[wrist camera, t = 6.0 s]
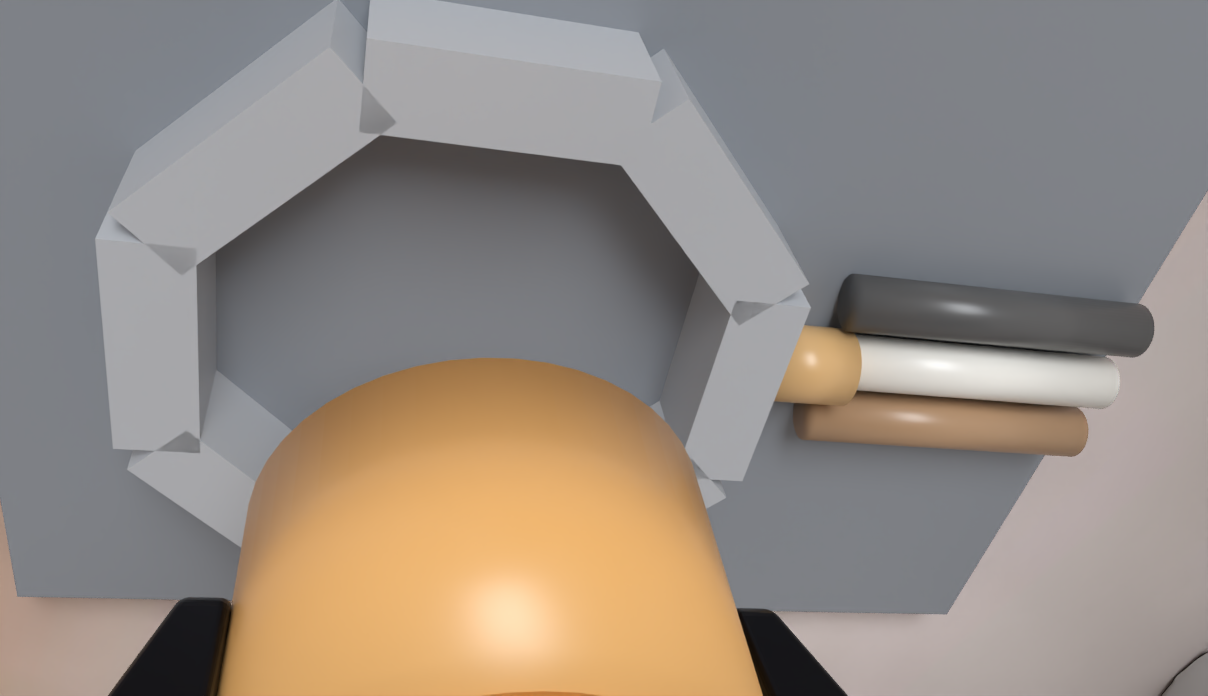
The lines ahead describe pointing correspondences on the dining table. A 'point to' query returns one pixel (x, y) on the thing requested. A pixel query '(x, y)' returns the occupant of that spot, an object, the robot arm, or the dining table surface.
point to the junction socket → (584, 254)
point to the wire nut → (482, 547)
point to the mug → (1191, 680)
